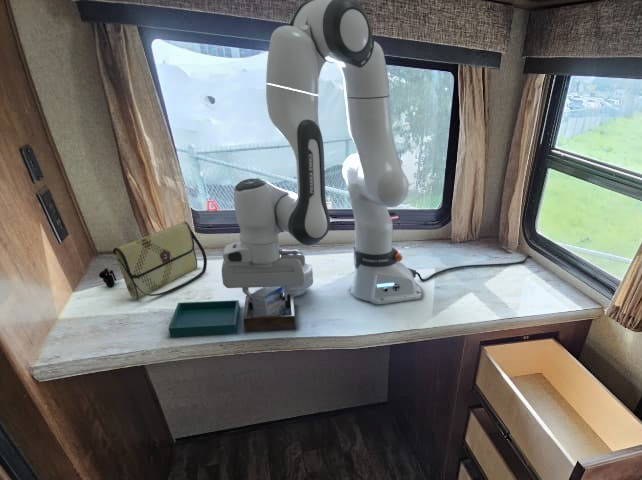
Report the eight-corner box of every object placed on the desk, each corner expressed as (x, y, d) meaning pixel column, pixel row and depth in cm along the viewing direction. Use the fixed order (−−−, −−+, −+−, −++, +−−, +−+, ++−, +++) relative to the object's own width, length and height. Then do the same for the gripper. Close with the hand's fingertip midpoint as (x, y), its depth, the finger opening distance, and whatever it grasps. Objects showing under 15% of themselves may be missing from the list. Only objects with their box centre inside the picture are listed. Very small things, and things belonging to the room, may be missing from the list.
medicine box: (269, 326, 115) (264, 297, 110) (255, 322, 116) (250, 293, 111) (287, 314, 121) (283, 286, 116) (273, 311, 122) (269, 282, 117)
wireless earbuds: (110, 291, 124) (104, 274, 121) (100, 291, 123) (93, 274, 120) (118, 281, 129) (112, 264, 126) (108, 281, 128) (102, 264, 125)
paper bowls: (310, 279, 142) (308, 256, 137) (317, 299, 130) (315, 275, 126) (261, 282, 137) (257, 258, 132) (264, 303, 125) (260, 278, 121)
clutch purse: (148, 306, 118) (130, 253, 109) (125, 302, 119) (106, 248, 110) (215, 268, 142) (205, 222, 133) (196, 265, 143) (184, 219, 134)
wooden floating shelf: (294, 306, 126) (292, 293, 123) (296, 329, 116) (294, 316, 113) (248, 308, 122) (245, 295, 120) (245, 332, 112) (243, 318, 110)
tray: (240, 308, 122) (238, 300, 120) (236, 333, 111) (235, 324, 110) (180, 311, 118) (178, 302, 116) (171, 337, 107) (168, 328, 106)
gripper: (303, 245, 113) (307, 294, 121) (218, 246, 107) (228, 297, 115) (304, 254, 108) (309, 304, 116) (215, 255, 102) (226, 307, 111)
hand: (268, 300), depth 116 cm, fingers closed on medicine box, 7 cm apart
